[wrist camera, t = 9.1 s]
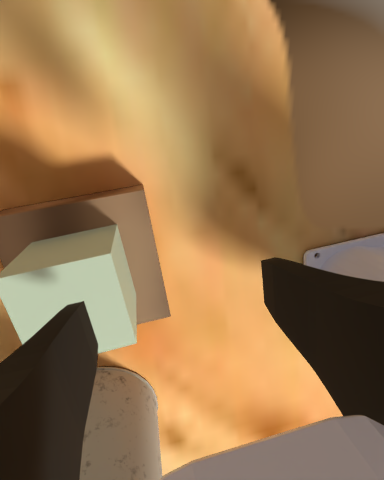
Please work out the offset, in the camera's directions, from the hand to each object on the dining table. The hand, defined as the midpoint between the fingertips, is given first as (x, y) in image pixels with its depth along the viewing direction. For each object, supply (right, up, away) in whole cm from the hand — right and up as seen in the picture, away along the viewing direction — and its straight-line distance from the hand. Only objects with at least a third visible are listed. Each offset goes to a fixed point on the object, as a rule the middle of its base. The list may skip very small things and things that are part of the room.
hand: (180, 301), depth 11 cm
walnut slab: (-7, +1, +9) cm, 11 cm away
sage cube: (-6, +1, +7) cm, 9 cm away
